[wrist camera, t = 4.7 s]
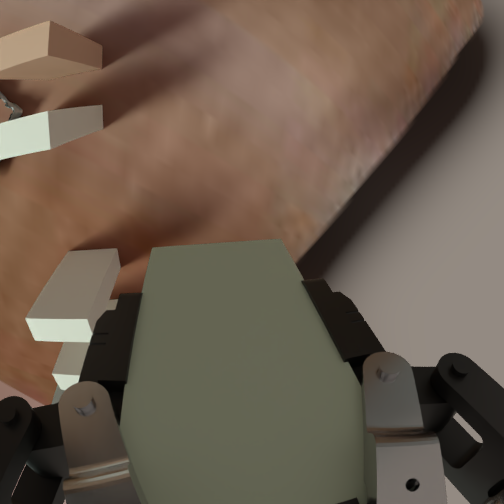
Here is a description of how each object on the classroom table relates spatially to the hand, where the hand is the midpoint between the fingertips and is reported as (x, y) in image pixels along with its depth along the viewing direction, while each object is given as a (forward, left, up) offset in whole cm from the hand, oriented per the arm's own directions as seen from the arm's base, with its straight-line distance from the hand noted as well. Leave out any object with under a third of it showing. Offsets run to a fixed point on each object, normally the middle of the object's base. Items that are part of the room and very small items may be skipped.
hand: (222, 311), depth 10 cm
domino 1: (-6, -11, -17) cm, 21 cm away
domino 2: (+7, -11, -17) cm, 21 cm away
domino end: (-11, -11, -17) cm, 23 cm away
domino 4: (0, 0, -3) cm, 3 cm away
